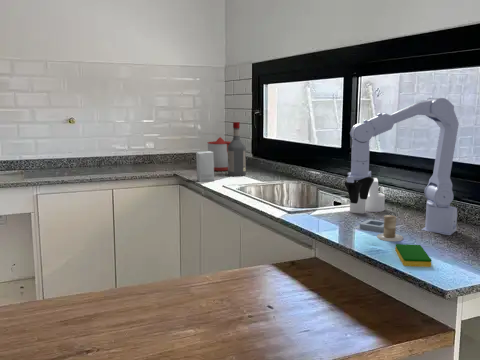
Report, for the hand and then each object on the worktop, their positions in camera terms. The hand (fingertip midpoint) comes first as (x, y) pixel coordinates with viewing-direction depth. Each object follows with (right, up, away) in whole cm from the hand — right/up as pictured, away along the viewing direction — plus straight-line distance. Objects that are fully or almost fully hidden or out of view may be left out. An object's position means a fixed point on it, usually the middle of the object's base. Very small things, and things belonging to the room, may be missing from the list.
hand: (358, 201), depth 168 cm
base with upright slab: (+13, -5, +34) cm, 37 cm away
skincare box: (-58, +6, +103) cm, 118 cm away
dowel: (+8, -11, -7) cm, 15 cm away
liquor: (-41, +9, +119) cm, 127 cm away
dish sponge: (+9, -16, -26) cm, 31 cm away
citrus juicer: (-51, +13, +140) cm, 149 cm away
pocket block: (+7, -10, +5) cm, 13 cm away
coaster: (+8, -12, -7) cm, 16 cm away
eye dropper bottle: (+6, -6, +27) cm, 28 cm away
